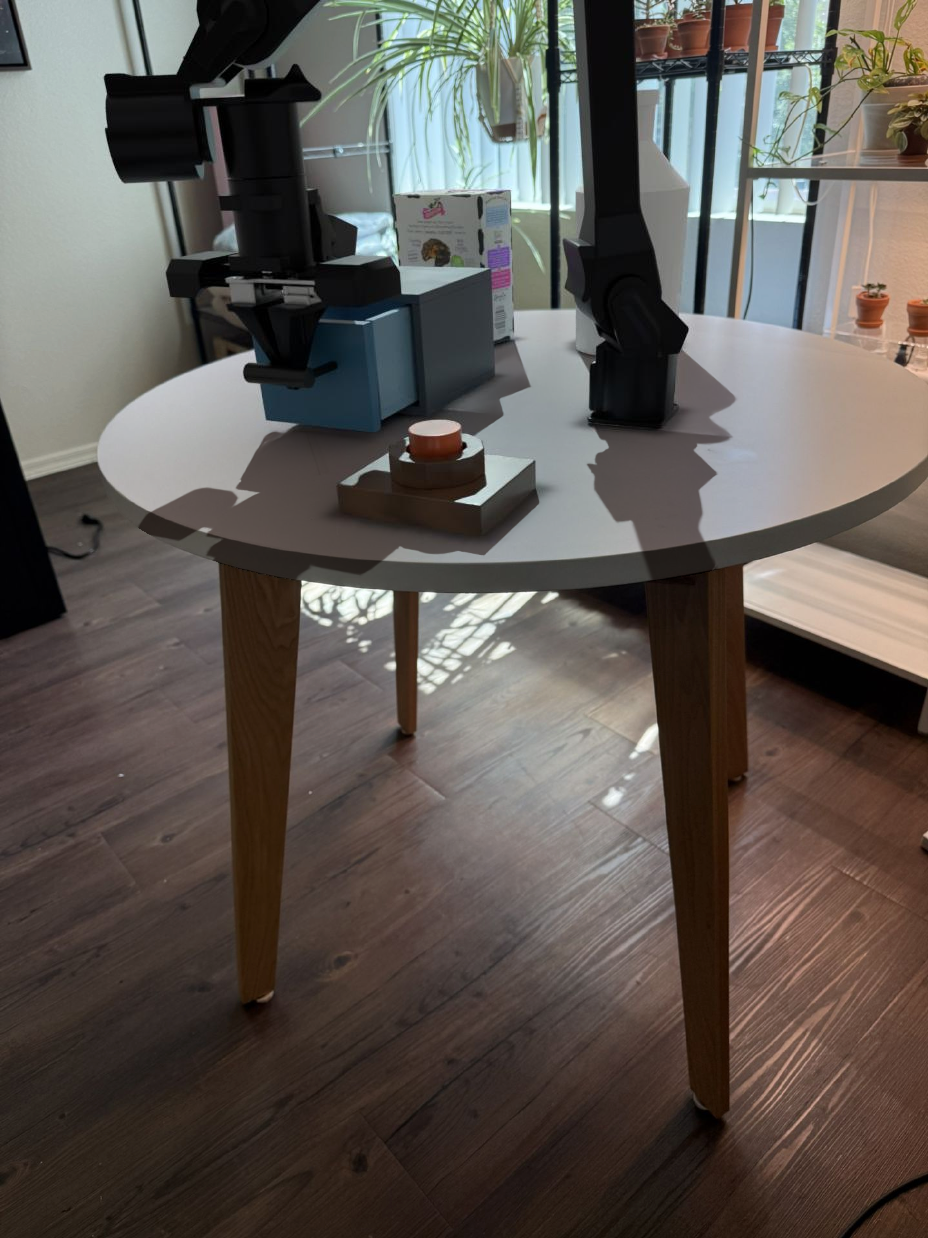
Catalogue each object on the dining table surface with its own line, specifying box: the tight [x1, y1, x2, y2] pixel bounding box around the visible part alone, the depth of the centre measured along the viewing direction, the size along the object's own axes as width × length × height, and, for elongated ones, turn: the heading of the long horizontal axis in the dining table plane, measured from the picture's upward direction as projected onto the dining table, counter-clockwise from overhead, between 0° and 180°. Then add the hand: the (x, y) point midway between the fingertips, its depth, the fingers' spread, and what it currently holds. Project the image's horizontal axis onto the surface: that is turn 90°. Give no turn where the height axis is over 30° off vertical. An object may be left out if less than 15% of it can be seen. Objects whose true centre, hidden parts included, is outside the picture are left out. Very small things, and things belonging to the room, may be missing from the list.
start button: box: [407, 419, 463, 458], centre depth 60 cm, size 4×4×2 cm
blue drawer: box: [242, 302, 419, 434], centre depth 77 cm, size 18×11×9 cm, turn 153°
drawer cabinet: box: [379, 265, 496, 417], centre depth 85 cm, size 15×13×11 cm
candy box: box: [391, 188, 515, 345], centre depth 104 cm, size 14×6×16 cm, turn 48°
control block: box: [335, 433, 537, 538], centre depth 61 cm, size 11×9×4 cm
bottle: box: [575, 88, 691, 356], centre depth 94 cm, size 12×12×25 cm
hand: (295, 388), depth 72 cm, fingers closed, pressing on blue drawer
